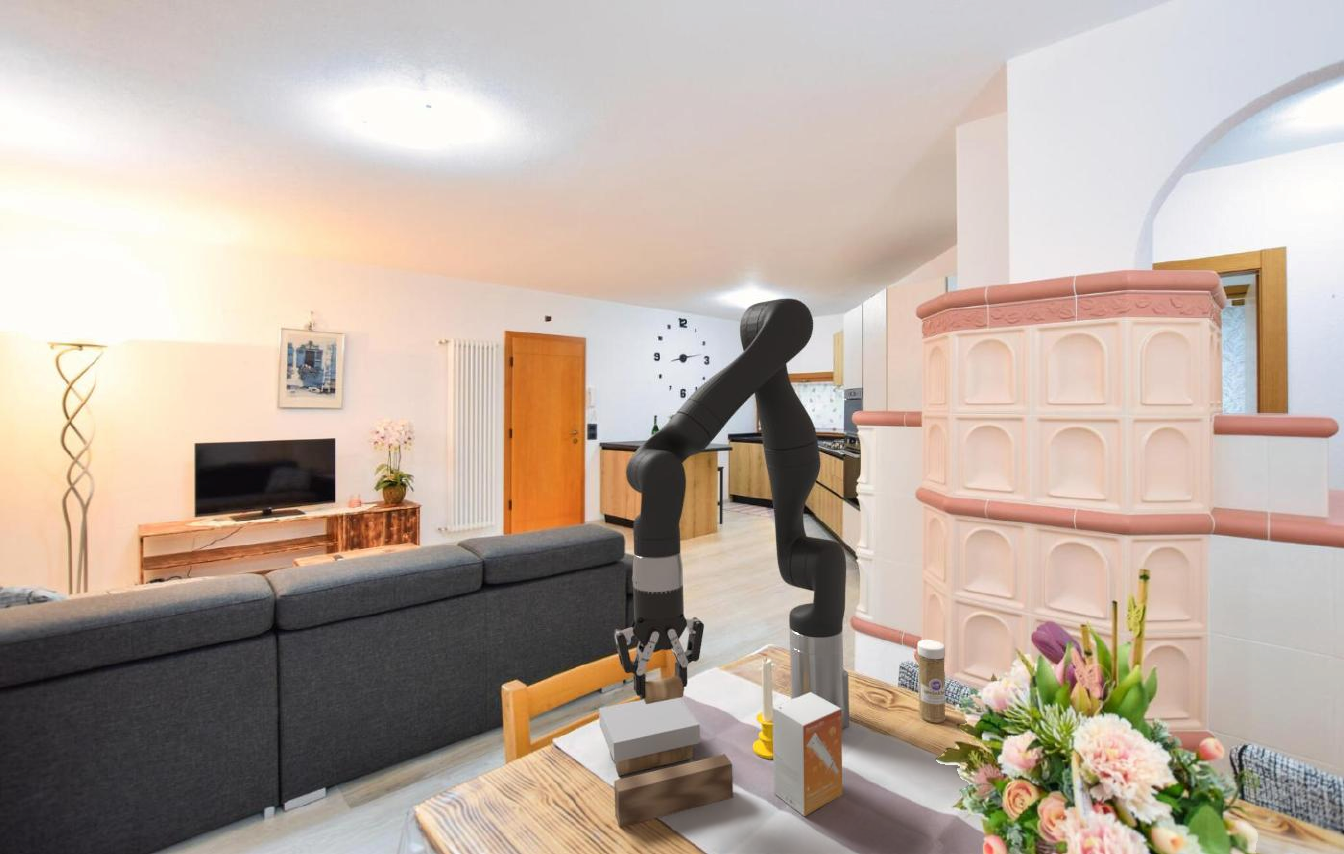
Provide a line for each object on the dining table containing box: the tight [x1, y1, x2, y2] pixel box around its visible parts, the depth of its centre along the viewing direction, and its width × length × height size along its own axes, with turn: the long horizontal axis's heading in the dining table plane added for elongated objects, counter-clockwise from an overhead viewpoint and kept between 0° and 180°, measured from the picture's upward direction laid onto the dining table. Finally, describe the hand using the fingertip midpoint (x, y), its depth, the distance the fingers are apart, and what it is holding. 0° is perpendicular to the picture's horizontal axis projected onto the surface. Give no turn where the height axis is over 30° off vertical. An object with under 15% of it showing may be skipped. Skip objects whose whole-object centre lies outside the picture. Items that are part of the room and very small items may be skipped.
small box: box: [772, 692, 843, 817], centre depth 85 cm, size 8×6×13 cm
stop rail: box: [613, 753, 734, 828], centre depth 83 cm, size 17×2×5 cm, turn 109°
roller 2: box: [615, 745, 694, 776], centre depth 93 cm, size 12×4×4 cm, turn 109°
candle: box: [752, 657, 774, 760], centre depth 96 cm, size 5×5×16 cm
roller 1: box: [643, 675, 685, 704], centre depth 87 cm, size 6×3×3 cm
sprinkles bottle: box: [916, 639, 947, 724], centre depth 104 cm, size 5×5×14 cm
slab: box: [598, 697, 701, 763], centre depth 95 cm, size 14×11×3 cm
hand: (661, 692), depth 88 cm, fingers closed on roller 1, 5 cm apart
